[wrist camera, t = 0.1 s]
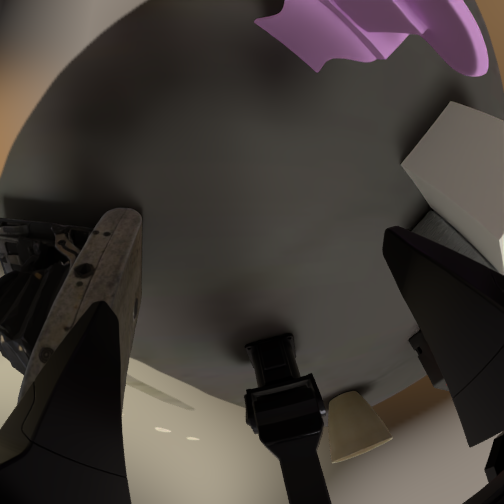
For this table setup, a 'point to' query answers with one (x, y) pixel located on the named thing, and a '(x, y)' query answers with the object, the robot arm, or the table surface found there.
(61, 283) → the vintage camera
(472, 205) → the white box
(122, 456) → the robot arm
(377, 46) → the toy chair
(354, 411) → the plant pot
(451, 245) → the silver metal panel
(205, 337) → the table surface
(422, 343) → the game console
